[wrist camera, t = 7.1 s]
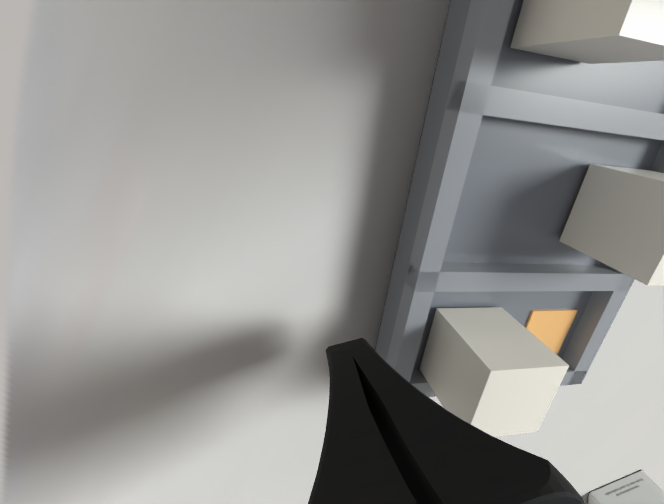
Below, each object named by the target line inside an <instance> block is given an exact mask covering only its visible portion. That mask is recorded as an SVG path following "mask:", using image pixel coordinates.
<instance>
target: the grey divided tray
mask: <svg viewBox="0 0 664 504" xmlns="http://www.w3.org/2000/svg"><path fill="white" fill-rule="evenodd" d="M522 4H523V0H451V1H450V6H449V11H448V15H447V20H446V24H445V29H444V34H443V38H442V43H441V48H440V52H439V57H438V61H437V66H436V71H435V75H434V80H433V85H432V89H431V94H430V98H429V103H428V108H427V112H426V117H425V121H424V126H423V131H422V135H421V140H420V145H419V149H418V154H417V158H416V163H415V168H414V172H413V177H412V182H411V186H410V191H409V195H408V200H407V205H406V209H405V214H404V218H403V223H402V228H401V232H400V237H399V242H398V246H397V251H396V255H395V260H394V265H393V269H392V274H391V279H390V283H389V288H388V292H387V297H386V302H385V306H384V311H383V315H382V320H381V325H380V329H379V334H378V339H377V343H376V348H375V351H376V352H377V353H378V354H379V355H380V356H381V357H382V358H383V359H384V360H385V361H386V362H387V363H388V364H389V365H390V366H391V367H392V368H393V369H394V370H396V371H397V372H398V373H399V374H400V375H401V376H402V377H403V378H405V379H406V380H407V381H408V382H409V383H411V384H412V385H413V386H414V387H416V388H417V389H418V390H419V391H421V392H422V393H423V394H425V395H426V396H427V397H433V396H436V394H435V393H434V391H433V390H432V388H431V386H430V385H429V383H428V382H427V380H426V378H425V377H424V375H423V374H422V372H421V371H420V365H421V362H422V358H423V355H424V351H425V347H426V344H427V340H428V337H429V333H430V330H431V326H432V323H433V319H434V316H435V312H436V309H437V308H488V307H502V308H503V309H504V310H505V311H507V312H508V313H509V314H510V315H511V316H512V317H514V318H515V319H516V320H517V321H518V322H519V323H521V324H522V325H523V326H524V327H525V328H526V329H527V330H529V331H530V332H531V333H532V334H533V335H534V336H536V337H537V338H538V339H539V340H540V341H541V342H543V343H544V344H545V345H546V346H547V347H548V348H550V349H551V350H552V351H553V352H554V353H555V354H557V355H558V356H559V357H560V358H561V359H562V360H563V361H565V362H566V363H567V364H568V365H569V367H568V369H567V372H566V374H565V376H564V378H563V380H562V382H561V384H560V385H572V384H581V383H582V381H583V379H584V377H585V375H586V373H587V371H588V369H589V367H590V365H591V363H592V361H593V359H594V357H595V355H596V354H597V352H598V350H599V348H600V346H601V344H602V342H603V340H604V338H605V336H606V334H607V332H608V330H609V328H610V326H611V324H612V322H613V320H614V318H615V316H616V314H617V313H618V311H619V309H620V307H621V305H622V303H623V301H624V299H625V297H626V295H627V293H628V291H629V289H630V287H631V285H632V283H633V281H634V278H632V277H630V276H628V275H626V274H624V273H622V272H620V271H618V270H616V269H614V268H612V267H610V266H608V265H606V264H604V263H602V262H600V261H598V260H596V259H594V258H592V257H590V256H588V255H586V254H584V253H582V252H580V251H578V250H576V249H574V248H572V247H570V246H568V245H566V244H564V243H562V242H560V241H559V240H560V238H561V235H562V233H563V230H564V228H565V225H566V223H567V220H568V218H569V215H570V213H571V210H572V208H573V205H574V203H575V201H576V198H577V196H578V193H579V191H580V188H581V186H582V183H583V181H584V178H585V176H586V173H587V171H588V168H589V166H590V164H596V165H606V166H615V167H624V168H633V169H642V170H651V171H656V172H661V173H664V61H643V62H620V63H598V64H588V63H583V62H578V61H573V60H568V59H563V58H558V57H553V56H548V55H543V54H538V53H533V52H528V51H524V50H519V49H514V48H510V46H511V43H512V39H513V36H514V32H515V29H516V25H517V22H518V18H519V15H520V11H521V7H522Z"/></svg>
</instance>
